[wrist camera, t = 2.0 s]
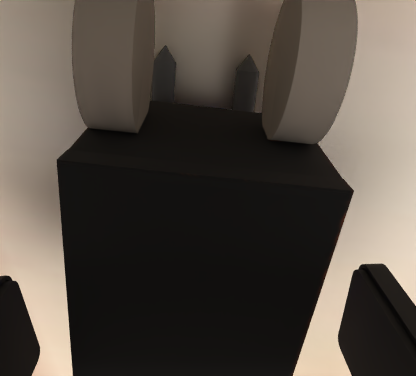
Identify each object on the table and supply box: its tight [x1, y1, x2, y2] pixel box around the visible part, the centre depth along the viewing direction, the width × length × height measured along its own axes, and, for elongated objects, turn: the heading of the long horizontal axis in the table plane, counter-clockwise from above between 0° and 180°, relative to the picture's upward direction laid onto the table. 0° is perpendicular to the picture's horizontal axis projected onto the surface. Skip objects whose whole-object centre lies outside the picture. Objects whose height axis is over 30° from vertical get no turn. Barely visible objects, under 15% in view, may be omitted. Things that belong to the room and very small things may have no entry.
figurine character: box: [57, 0, 358, 376], centre depth 12 cm, size 7×8×15 cm
